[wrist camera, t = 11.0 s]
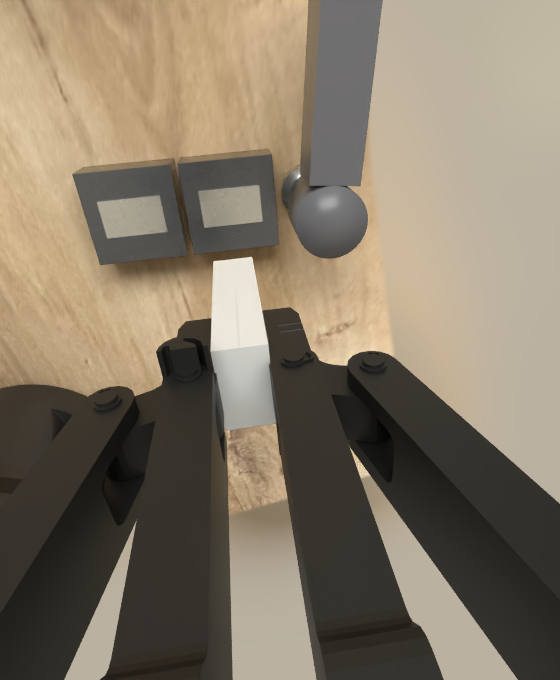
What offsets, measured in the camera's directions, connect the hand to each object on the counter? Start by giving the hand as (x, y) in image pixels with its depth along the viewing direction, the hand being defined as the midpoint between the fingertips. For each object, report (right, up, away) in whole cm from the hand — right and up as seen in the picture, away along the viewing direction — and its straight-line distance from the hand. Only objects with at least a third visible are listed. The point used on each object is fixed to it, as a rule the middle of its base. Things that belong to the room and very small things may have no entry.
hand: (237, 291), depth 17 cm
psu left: (-8, +7, +14) cm, 18 cm away
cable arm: (+4, +12, +7) cm, 14 cm away
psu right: (-2, +8, +14) cm, 16 cm away
